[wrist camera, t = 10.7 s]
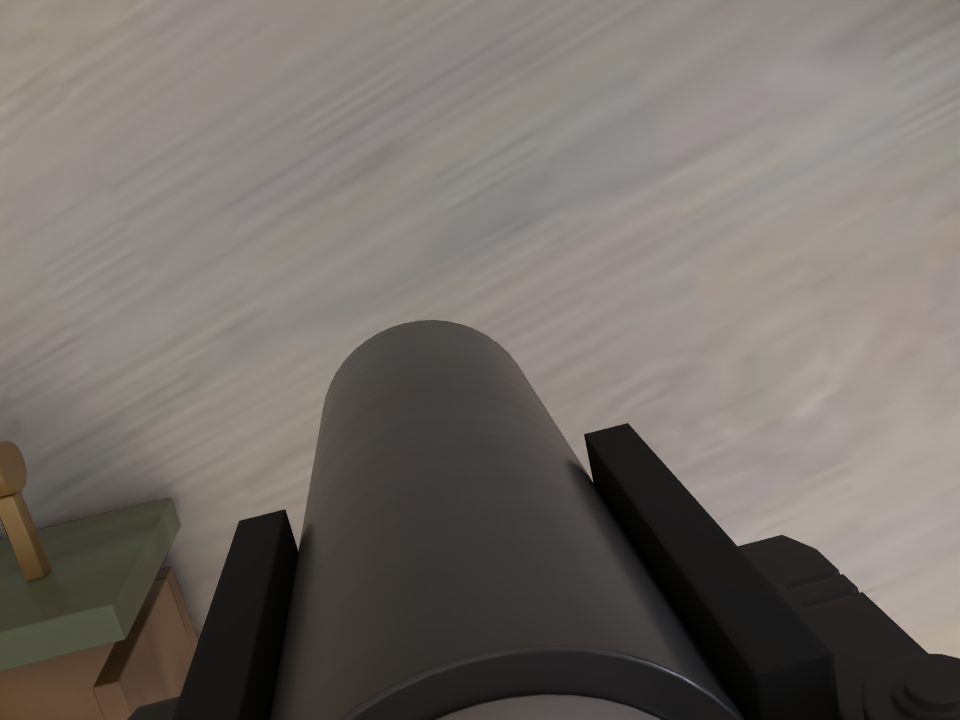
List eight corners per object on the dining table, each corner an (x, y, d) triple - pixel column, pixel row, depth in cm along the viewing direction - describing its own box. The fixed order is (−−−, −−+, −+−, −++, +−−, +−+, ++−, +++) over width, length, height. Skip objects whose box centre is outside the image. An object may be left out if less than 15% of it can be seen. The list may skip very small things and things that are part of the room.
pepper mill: (296, 348, 19) (-16, 1262, 4) (510, 297, 20) (1060, 938, 4) (352, 542, 21) (297, 1810, 5) (551, 492, 21) (1082, 1538, 5)
